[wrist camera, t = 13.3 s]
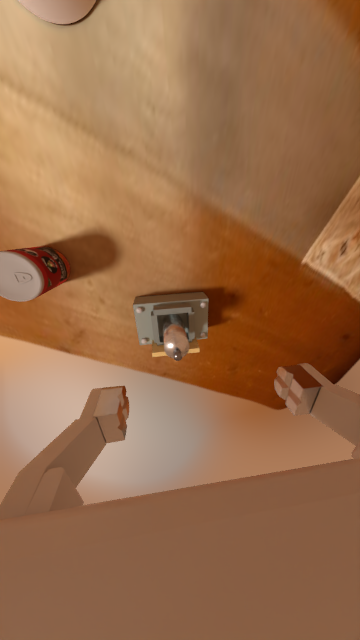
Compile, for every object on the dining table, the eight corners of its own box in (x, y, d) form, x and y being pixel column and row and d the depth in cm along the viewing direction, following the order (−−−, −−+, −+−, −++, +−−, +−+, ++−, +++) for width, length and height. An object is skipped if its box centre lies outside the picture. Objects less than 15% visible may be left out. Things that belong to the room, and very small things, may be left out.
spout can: (162, 314, 39) (163, 342, 29) (182, 313, 40) (190, 340, 29) (163, 332, 41) (165, 364, 31) (182, 330, 42) (190, 362, 31)
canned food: (79, 276, 39) (52, 291, 29) (45, 289, 39) (7, 309, 29) (56, 239, 35) (17, 242, 25) (19, 254, 36) (-33, 262, 26)
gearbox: (135, 297, 42) (129, 314, 33) (203, 291, 43) (215, 307, 34) (141, 334, 46) (137, 358, 37) (202, 328, 48) (213, 350, 39)
